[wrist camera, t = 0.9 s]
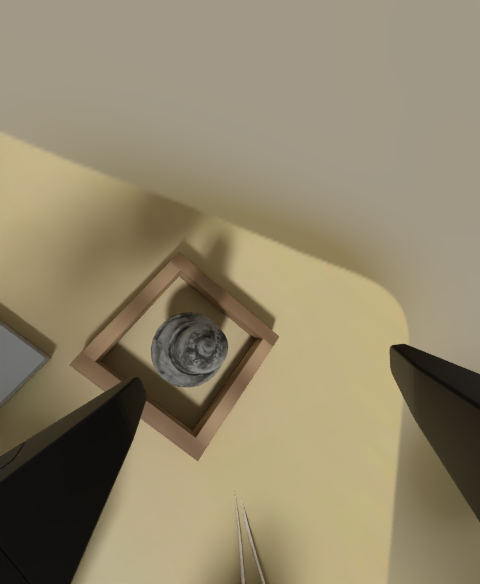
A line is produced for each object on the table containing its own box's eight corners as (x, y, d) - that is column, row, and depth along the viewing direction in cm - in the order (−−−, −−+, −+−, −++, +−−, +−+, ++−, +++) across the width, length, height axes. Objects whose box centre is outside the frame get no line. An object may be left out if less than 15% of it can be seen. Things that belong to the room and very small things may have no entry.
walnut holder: (194, 451, 22) (197, 461, 20) (77, 363, 21) (69, 364, 19) (270, 337, 26) (279, 336, 25) (177, 259, 25) (179, 252, 23)
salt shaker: (145, 325, 23) (134, 302, 12) (208, 311, 25) (248, 279, 14) (159, 391, 22) (160, 431, 11) (222, 371, 24) (277, 387, 13)
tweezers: (292, 674, 21) (304, 703, 19) (238, 710, 20) (246, 745, 18) (249, 444, 25) (256, 450, 23) (202, 459, 24) (206, 467, 22)
